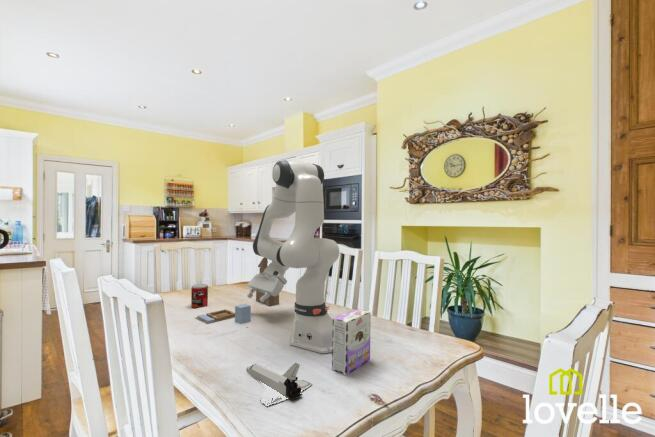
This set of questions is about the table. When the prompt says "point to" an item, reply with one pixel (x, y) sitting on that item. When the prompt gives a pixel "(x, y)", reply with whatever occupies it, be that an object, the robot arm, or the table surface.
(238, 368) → the table surface
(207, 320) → the plate
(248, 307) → the block
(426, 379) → the table surface
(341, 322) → the candy box
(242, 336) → the table surface
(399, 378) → the table surface
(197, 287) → the canned food
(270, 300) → the wooden toy
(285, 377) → the space shuttle model
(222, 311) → the tray
